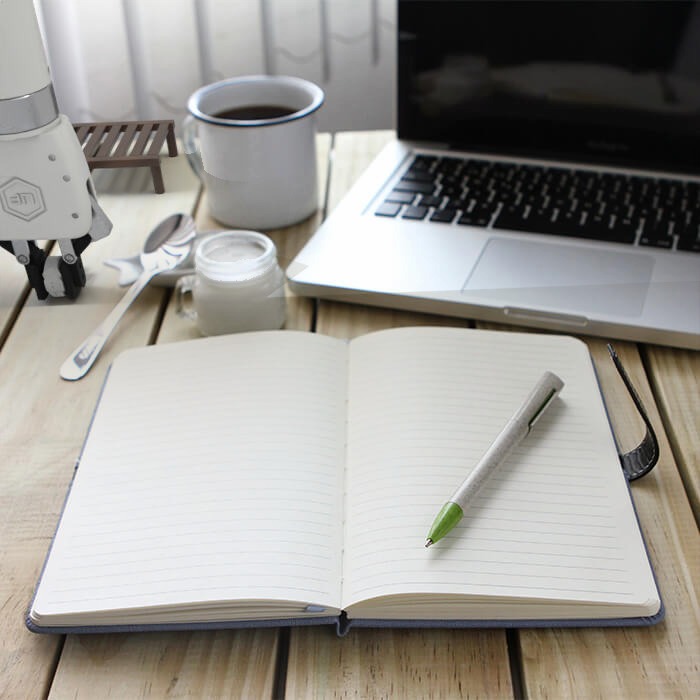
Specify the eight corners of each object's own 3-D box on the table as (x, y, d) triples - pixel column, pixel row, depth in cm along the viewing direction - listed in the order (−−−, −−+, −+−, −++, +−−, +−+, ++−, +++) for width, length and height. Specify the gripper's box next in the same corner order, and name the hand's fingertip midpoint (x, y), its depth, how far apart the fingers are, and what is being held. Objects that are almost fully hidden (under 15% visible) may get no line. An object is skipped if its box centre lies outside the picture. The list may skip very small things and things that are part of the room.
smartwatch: (68, 303, 75) (58, 267, 73) (45, 304, 75) (35, 268, 73) (77, 283, 78) (68, 248, 76) (55, 284, 78) (45, 249, 76)
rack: (47, 198, 94) (37, 163, 91) (73, 156, 103) (64, 123, 100) (164, 194, 94) (158, 158, 91) (179, 152, 103) (174, 119, 100)
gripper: (-106, 126, 62) (-35, 316, 74) (96, 122, 63) (136, 312, 74) (-69, 93, 68) (-8, 273, 80) (116, 90, 69) (150, 270, 80)
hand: (61, 291), depth 77 cm, fingers closed on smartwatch, 2 cm apart
